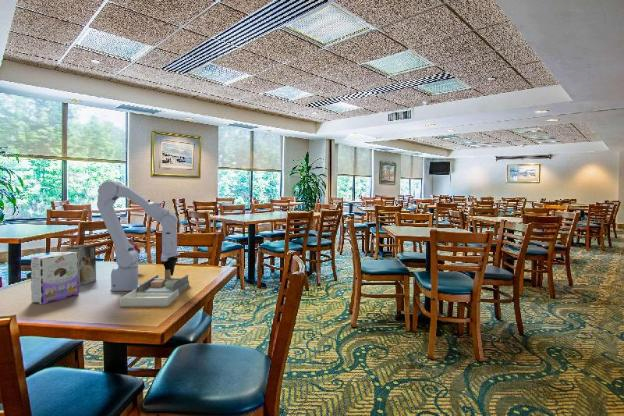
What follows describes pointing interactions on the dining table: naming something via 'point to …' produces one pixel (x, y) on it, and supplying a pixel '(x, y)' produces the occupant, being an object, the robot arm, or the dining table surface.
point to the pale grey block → (167, 276)
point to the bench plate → (180, 285)
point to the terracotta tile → (157, 283)
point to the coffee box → (85, 263)
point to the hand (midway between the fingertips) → (169, 275)
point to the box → (148, 299)
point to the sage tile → (170, 283)
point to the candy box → (54, 277)
